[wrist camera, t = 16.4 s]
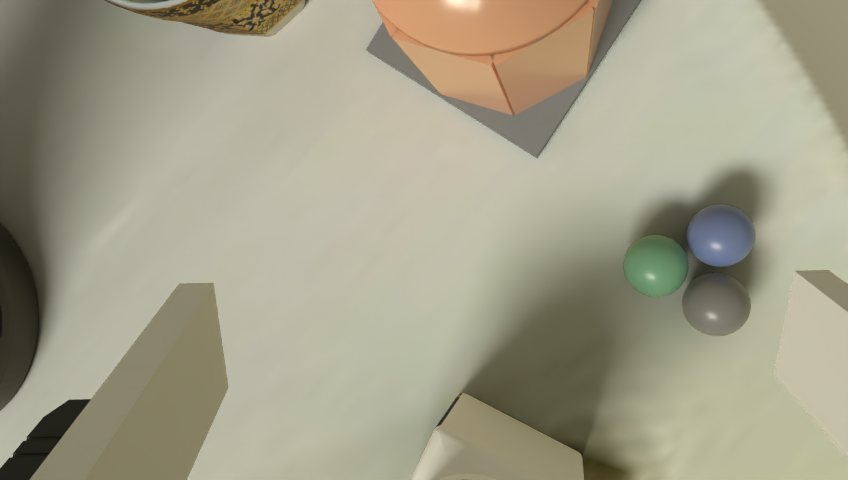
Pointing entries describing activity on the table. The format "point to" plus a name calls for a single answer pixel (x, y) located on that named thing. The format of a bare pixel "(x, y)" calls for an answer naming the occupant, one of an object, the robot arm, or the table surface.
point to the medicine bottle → (493, 448)
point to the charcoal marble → (716, 304)
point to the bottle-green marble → (655, 265)
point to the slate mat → (532, 123)
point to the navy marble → (720, 235)
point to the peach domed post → (498, 46)
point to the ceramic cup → (221, 13)
